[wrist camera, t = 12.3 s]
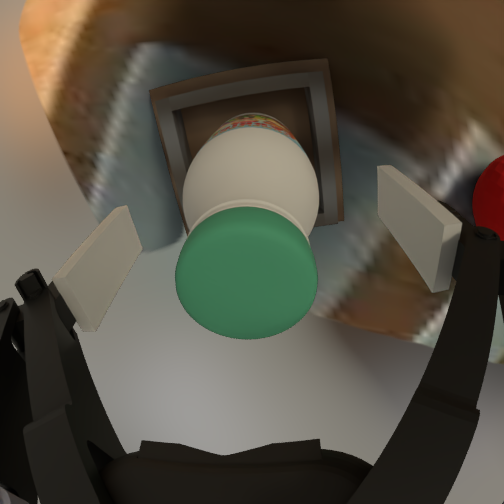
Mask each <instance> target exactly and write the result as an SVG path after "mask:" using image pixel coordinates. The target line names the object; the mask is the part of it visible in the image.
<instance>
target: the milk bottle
mask: <svg viewBox="0 0 504 504" xmlns="http://www.w3.org/2000/svg"><path fill="white" fill-rule="evenodd" d="M318 207H319V189H318V183H317V178H316V174H315V171H314V169H313V167H312V165H311V163H310V161H309V159H308V157H307V155H306V153H305V152H304V150H303V149H302V147H301V146H300V144H299V143H298V141H297V140H296V138H295V137H294V136H293V134H292V133H291V132H290V131H289V129H288V128H287V127H286V126H285V125H284V124H283V123H281V122H280V121H279V120H277V119H276V118H274V117H272V116H269V115H266V114H262V113H244V114H240V115H237V116H235V117H233V118H231V119H229V120H228V121H226V122H225V123H224V124H223V125H221V126H220V127H219V128H218V130H217V131H216V132H215V133H214V134H213V135H212V136H211V137H210V138H209V139H208V140H207V142H206V143H205V144H204V145H203V146H202V148H201V149H200V150H199V152H198V153H197V155H196V156H195V158H194V159H193V161H192V163H191V165H190V167H189V169H188V172H187V175H186V179H185V182H184V187H183V210H184V215H185V219H186V223H187V225H188V228H189V230H190V232H189V234H188V236H187V240H186V242H185V244H184V246H183V248H182V250H181V252H180V256H179V259H178V262H177V266H176V271H175V281H176V290H177V294H178V297H179V300H180V302H181V304H182V305H183V307H184V309H185V310H186V312H187V313H188V314H189V315H190V316H191V317H192V318H193V319H194V320H195V321H196V322H197V323H199V324H200V325H201V326H203V327H205V328H206V329H208V330H210V331H212V332H214V333H217V334H219V335H222V336H226V337H230V338H236V339H260V338H265V337H270V336H273V335H276V334H279V333H281V332H283V331H285V330H287V329H289V328H291V327H292V326H294V325H295V324H296V323H297V322H299V321H300V320H301V319H302V318H303V317H304V316H305V314H306V313H307V312H308V310H309V309H310V307H311V305H312V303H313V301H314V298H315V295H316V290H317V283H318V275H317V268H316V263H315V259H314V255H313V253H312V250H311V248H310V243H309V239H308V236H309V235H310V233H311V231H312V229H313V226H314V224H315V221H316V217H317V213H318Z"/></svg>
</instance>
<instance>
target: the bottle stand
mask: <svg viewBox="0 0 504 504" xmlns="http://www.w3.org/2000/svg"><path fill="white" fill-rule="evenodd" d="M149 92H150V97H151V101H152V105H153V110H154V114H155V118H156V122H157V126H158V131H159V135H160V139H161V143H162V147H163V151H164V154H165V158H166V162H167V166H168V170H169V173H170V177H171V181H172V184H173V188H174V192H175V195H176V199H177V202H178V206H179V209H180V213H181V216H182V220H183V223H184V227H185V230H186V233H187V236H188V234H189V232H190V230H189V228H188V225H187V223H186V219H185V215H184V210H183V187H184V182H185V179H186V175H187V172H188V169H189V167H190V165H191V163H192V161H193V159H194V158H195V156H196V155H197V153H198V152H199V150H200V149H201V148H202V146H203V145H204V144H205V143H206V142H207V140H208V139H209V138H210V137H211V136H212V135H213V134H214V133H215V132H216V131H217V130H218V128H219V127H220V126H221V125H223V124H224V123H225V122H226V121H228V120H229V119H231V118H233V117H235V116H237V115H240V114H244V113H262V114H266V115H269V116H272V117H274V118H276V119H277V120H279V121H280V122H281V123H283V124H284V125H285V126H286V127H287V128H288V129H289V131H290V132H291V133H292V134H293V136H294V137H295V138H296V140H297V141H298V143H299V144H300V146H301V147H302V149H303V150H304V152H305V153H306V155H307V157H308V159H309V161H310V163H311V165H312V167H313V169H314V171H315V174H316V178H317V183H318V189H319V207H318V213H317V217H316V221H315V224H314V226H313V227H317V226H325V225H332V224H338V221H344V206H343V188H342V174H341V161H340V150H339V139H338V130H337V121H336V112H335V104H334V97H333V90H332V83H331V76H330V70H329V63H328V58H325V59H310V60H298V61H288V62H279V63H271V64H264V65H257V66H251V67H245V68H239V69H233V70H228V71H223V72H218V73H213V74H209V75H204V76H200V77H196V78H192V79H188V80H184V81H180V82H176V83H172V84H169V85H165V86H162V87H159V88H155V89H152V90H149Z"/></svg>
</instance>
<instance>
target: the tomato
mask: <svg viewBox="0 0 504 504" xmlns="http://www.w3.org/2000/svg"><path fill="white" fill-rule="evenodd" d="M472 208H473V214H474V219H475V223H476V226H482V227H486V228H489V229H492V230H493V231H495V232H496V233H497V234H498V235H499V237H500V241H504V155H503V156H500V157H499V158H497V159H495V160H494V161H493V162H491V163H490V164H489V166H488V167H487V168H486V169H485V170H484V171H483V173H482V174H481V176H480V177H479V179H478V181H477V183H476V186H475V189H474V192H473V200H472Z"/></svg>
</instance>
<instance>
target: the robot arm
mask: <svg viewBox="0 0 504 504" xmlns="http://www.w3.org/2000/svg"><path fill="white" fill-rule="evenodd" d="M377 179H378V217H379V218H380V219H381V220H382V222H383V223H384V224H385V226H386V227H387V228H388V230H389V231H390V232H391V234H392V235H393V236H394V238H395V239H396V240H397V242H398V243H399V245H400V246H401V247H402V249H403V250H404V252H405V253H406V254H407V256H408V257H409V259H410V260H411V262H412V263H413V265H414V266H415V267H416V269H417V270H418V272H419V273H420V275H421V276H422V278H423V279H424V281H425V282H426V284H427V286H428V287H429V289H430V290H431V292H432V293H434V292H439V291H443V290H448V289H449V286H450V282H451V278H452V276H453V277H454V279H455V280H456V281H457V282H456V285H455V289H454V292H453V296H452V299H451V302H450V306H449V309H448V312H447V315H446V318H445V321H444V324H443V327H442V330H441V332H440V335H439V338H438V340H437V343H436V346H435V348H434V351H433V353H432V356H431V359H430V361H429V363H428V366H427V368H426V370H425V373H424V375H423V377H422V379H421V382H420V384H419V386H418V388H417V389H416V391H415V394H414V395H413V397H412V400H411V402H410V404H409V406H408V407H407V410H406V411H405V413H404V415H403V417H402V419H401V421H400V422H399V424H398V426H397V428H396V430H395V432H394V433H393V435H392V437H391V438H390V440H389V442H388V444H387V445H386V447H385V449H384V450H383V452H382V453H381V455H380V457H379V458H378V460H377V461H376V463H375V464H374V466H372V465H371V464H369V463H367V462H365V461H364V460H362V459H360V458H357V457H355V456H353V455H349V454H346V453H343V452H339V451H333V450H326V449H321V446H320V439H313V440H305V441H296V442H285V443H272V444H269V445H265V446H262V447H258V448H255V449H251V450H247V451H243V452H239V453H235V454H230V455H217V454H213V453H210V452H206V451H203V450H199V449H196V448H192V447H189V446H186V445H182V444H175V443H164V442H153V441H144V440H143V441H141V446H140V450H139V451H137V452H133V453H129V454H127V453H126V452H125V451H124V449H123V447H122V445H121V443H120V441H119V439H118V437H117V435H116V433H115V431H114V429H113V427H112V425H111V422H110V420H109V418H108V416H107V414H106V411H105V409H104V407H103V404H102V402H101V400H100V397H99V395H98V393H97V390H96V387H95V385H94V382H93V380H92V377H91V374H90V372H89V369H88V366H87V363H86V360H85V358H84V355H83V352H82V348H81V345H80V342H79V339H78V336H77V333H76V332H75V330H74V329H73V326H74V324H75V322H77V323H78V324H79V326H80V328H81V329H82V331H83V332H90V331H97V329H98V327H99V325H100V323H101V321H102V319H103V317H104V315H105V314H106V312H107V310H108V308H109V306H110V305H111V303H112V301H113V299H114V297H115V295H116V294H117V292H118V290H119V288H120V287H121V285H122V283H123V281H124V280H125V278H126V276H127V274H128V273H129V271H130V269H131V267H132V266H133V264H134V263H135V261H136V259H137V258H138V256H139V254H140V253H141V251H142V249H143V248H142V245H141V243H140V240H139V237H138V235H137V232H136V229H135V226H134V224H133V221H132V218H131V215H130V212H129V209H128V206H127V205H125V206H121V207H117V208H115V209H114V210H113V211H112V212H111V213H110V214H109V215H108V216H107V217H106V218H105V219H104V220H103V221H102V222H101V223H100V224H99V225H98V226H97V228H96V229H95V230H94V231H93V232H92V233H91V234H90V236H88V237H87V238H86V240H85V241H84V242H83V243H82V244H81V245H80V246H79V247H78V249H77V250H76V251H75V252H74V253H73V254H72V255H71V257H70V258H69V259H68V260H67V261H66V262H65V264H64V265H63V266H62V267H61V269H60V270H59V271H58V272H57V273H56V275H55V276H54V277H53V278H52V280H53V281H52V282H51V283H50V284H49V286H47V284H46V282H45V280H44V278H43V276H42V275H41V273H40V271H39V269H32V270H30V271H28V272H26V273H25V274H23V275H22V276H21V277H20V278H19V279H18V280H17V281H16V283H15V286H16V288H17V290H18V292H19V293H20V295H21V297H22V298H23V300H24V304H23V305H20V306H17V304H16V302H15V301H14V299H13V298H8V299H6V300H2V301H1V302H0V504H37V500H38V497H39V500H40V503H41V504H444V502H445V500H446V498H447V496H448V494H449V492H450V490H451V488H452V486H453V484H454V482H455V480H456V478H457V475H458V473H459V471H460V469H461V466H462V464H463V461H464V459H465V457H466V454H467V451H468V449H469V447H470V444H471V441H472V439H473V436H474V433H475V430H476V427H477V424H478V420H479V416H480V410H478V409H476V405H477V401H478V398H479V394H480V390H481V387H482V383H483V379H484V375H485V371H486V367H487V362H488V358H489V353H490V348H491V342H492V337H493V330H494V324H495V317H496V309H497V300H498V295H499V300H500V305H501V310H502V315H503V321H504V241H500V237H499V235H498V234H497V233H496V232H495V231H493V230H492V229H489V228H486V227H482V226H474V227H473V226H472V225H471V224H470V223H469V222H468V221H467V220H465V219H464V218H463V217H462V216H460V214H459V213H457V212H455V210H454V209H453V208H452V207H450V206H449V205H447V204H445V203H443V202H441V201H436V200H435V199H434V198H433V197H432V196H430V195H429V194H428V193H427V192H426V191H424V190H423V189H422V188H421V187H419V186H418V185H417V184H415V183H414V182H413V181H412V180H410V179H409V178H408V177H406V176H405V175H404V174H402V173H401V172H400V171H398V170H397V169H396V168H394V167H393V166H391V165H383V166H377ZM12 343H13V344H14V345H15V347H16V348H17V351H16V349H15V348H14V346H13V344H12ZM502 504H504V502H503V503H502Z"/></svg>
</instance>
